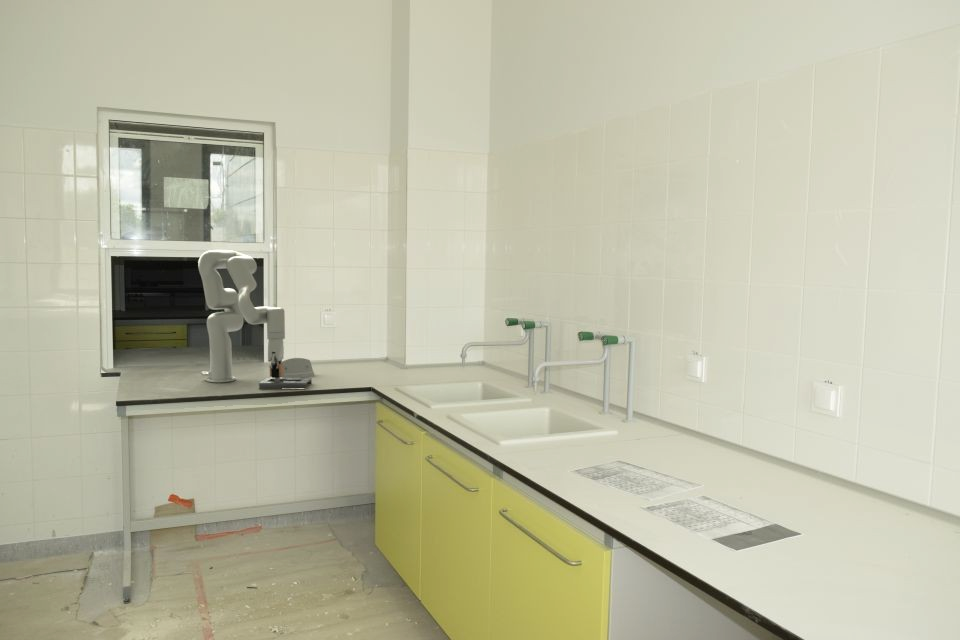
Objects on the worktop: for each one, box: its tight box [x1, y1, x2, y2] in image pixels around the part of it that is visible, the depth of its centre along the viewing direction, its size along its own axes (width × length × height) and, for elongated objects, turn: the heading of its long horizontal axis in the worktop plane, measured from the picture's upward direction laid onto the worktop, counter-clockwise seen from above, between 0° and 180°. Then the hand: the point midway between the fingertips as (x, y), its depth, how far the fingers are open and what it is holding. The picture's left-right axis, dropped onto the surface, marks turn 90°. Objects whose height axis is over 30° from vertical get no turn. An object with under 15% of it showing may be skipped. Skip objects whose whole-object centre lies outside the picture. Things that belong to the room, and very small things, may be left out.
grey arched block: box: [279, 357, 315, 378], centre depth 346 cm, size 17×5×10 cm, turn 125°
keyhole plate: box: [258, 377, 313, 390], centre depth 320 cm, size 20×13×3 cm, turn 92°
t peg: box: [269, 364, 284, 382], centre depth 320 cm, size 5×5×9 cm
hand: (276, 375), depth 320 cm, fingers closed on t peg, 5 cm apart
